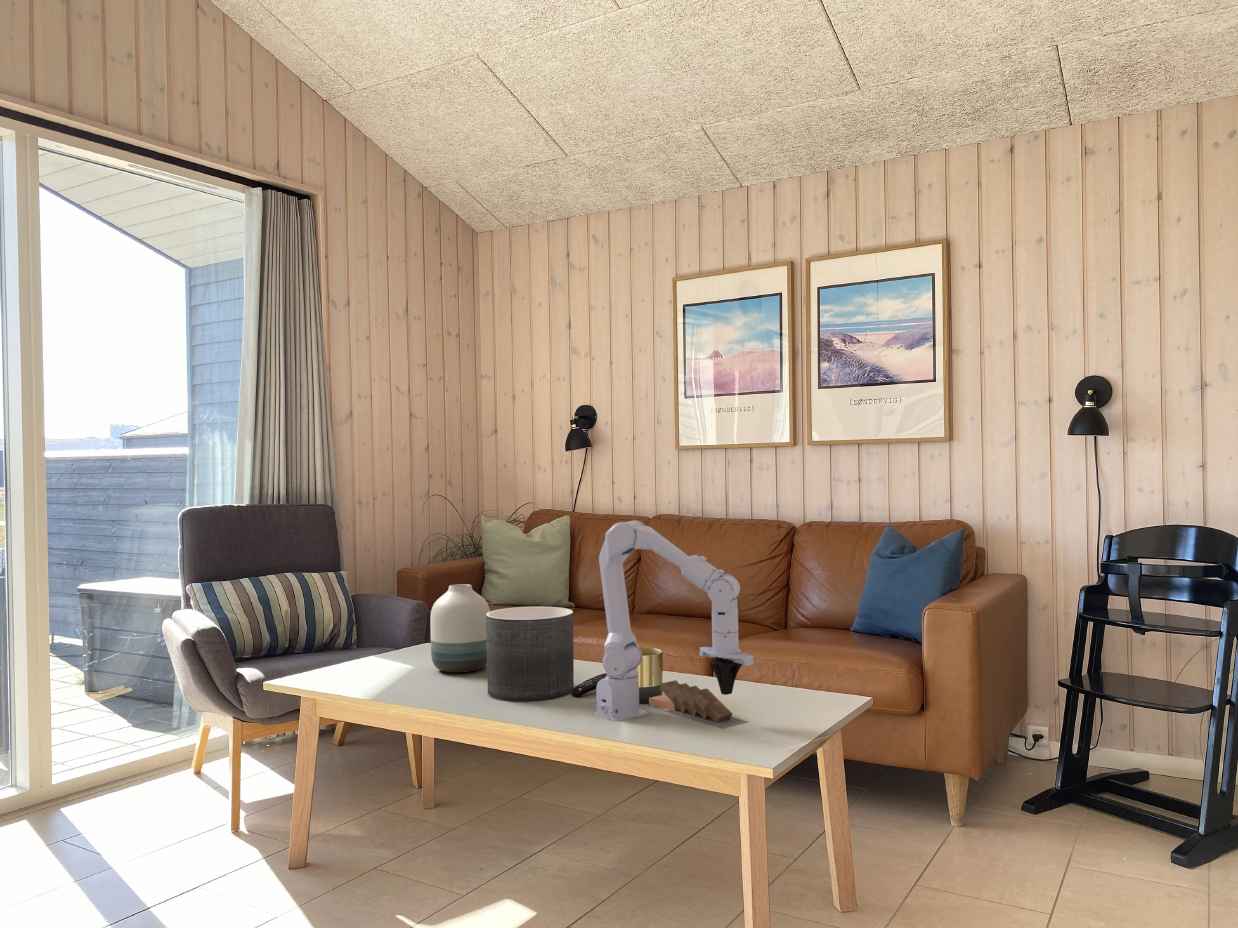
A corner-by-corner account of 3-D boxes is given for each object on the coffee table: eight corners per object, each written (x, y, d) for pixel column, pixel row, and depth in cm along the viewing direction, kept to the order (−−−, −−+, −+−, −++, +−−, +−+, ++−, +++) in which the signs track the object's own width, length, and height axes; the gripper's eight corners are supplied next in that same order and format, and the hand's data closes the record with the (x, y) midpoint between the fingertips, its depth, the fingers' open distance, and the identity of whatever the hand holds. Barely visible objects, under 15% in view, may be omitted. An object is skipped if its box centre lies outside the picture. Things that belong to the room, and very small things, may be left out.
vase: (439, 663, 262) (438, 582, 262) (496, 662, 261) (494, 581, 262) (424, 676, 245) (423, 589, 245) (485, 675, 244) (483, 588, 245)
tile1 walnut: (718, 717, 192) (692, 691, 198) (715, 722, 192) (690, 697, 199) (732, 713, 194) (706, 688, 201) (730, 719, 195) (704, 693, 201)
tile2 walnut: (706, 713, 194) (682, 688, 201) (704, 719, 195) (679, 694, 201) (721, 710, 197) (696, 685, 203) (718, 715, 198) (694, 690, 204)
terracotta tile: (674, 703, 203) (648, 697, 210) (674, 710, 203) (649, 704, 210) (688, 700, 206) (662, 694, 213) (688, 707, 206) (663, 701, 213)
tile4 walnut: (685, 707, 200) (661, 682, 206) (683, 713, 200) (659, 688, 207) (699, 704, 203) (676, 680, 209) (697, 709, 203) (674, 685, 210)
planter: (469, 697, 220) (468, 616, 220) (516, 678, 240) (515, 604, 240) (547, 705, 211) (545, 621, 211) (589, 685, 231) (587, 608, 231)
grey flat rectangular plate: (723, 729, 188) (723, 728, 188) (664, 712, 203) (664, 710, 203) (749, 722, 193) (749, 721, 193) (690, 706, 208) (690, 704, 208)
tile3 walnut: (696, 710, 197) (672, 685, 203) (694, 716, 198) (670, 691, 204) (710, 707, 200) (686, 682, 206) (708, 713, 200) (684, 688, 207)
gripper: (762, 632, 190) (764, 696, 190) (714, 625, 201) (716, 684, 201) (739, 637, 185) (741, 702, 185) (692, 628, 197) (693, 690, 197)
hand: (726, 693), depth 193 cm, fingers closed
